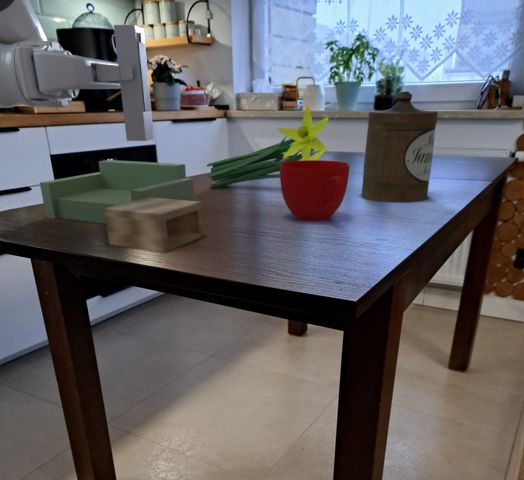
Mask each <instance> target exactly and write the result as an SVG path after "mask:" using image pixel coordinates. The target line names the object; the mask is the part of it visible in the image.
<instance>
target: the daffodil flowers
mask: <svg viewBox="0 0 524 480" xmlns="http://www.w3.org/2000/svg"><path fill="white" fill-rule="evenodd" d="M329 118H330V117H329V116H327V117H325V118H323V119H321V120H319V121H318V122H317V123H315V124H313V116H312V113H311V108H310V107H309V105H306V108H305V110H304V114H303V118H302V122H301V126H299V127H298V128H297V129H296V128H284V127H280V128H276V130H277V131H278V132H280V133H281V134H282V135H284V136H285V137H284V138H282V139H281V141H279V143H275V144H273V145H270V146H267V147H265V148H262V149H258V150H256V151H253V152H250V153H247V154H242V155H238V156H233V157H229V158H225V159H220V160H216V161H213V162H209V163H207V164H206V167H210V172H209V174H207V176H208V178H211V179H210V180H211V181H213V182H215V183H213V184H211V185H210V189H212V190H216V189H220V188H223V187H226V186H230V185H232V184H233V185H234V184H238V183H243V182H250V181H257V180H267V179H280V173H278V172H280V164H282V163H285V162H291V161H305V160H320V158H321V157H322V156H323V155H324V153H325V152H326V151H328V149H327V147H326V146H325V144H324V143H323V142H322V141H321V140H320V139H319V138H318V137H317V136H318V135H319V134H320V133H321V132H322V131H323V130H324V129H325V127H326V126H327V123H328V121H329ZM287 138H289V139H287ZM286 139H287V140H286ZM314 151H316V152H315V153H313V152H314ZM310 155H311V156H310ZM283 159H285V160H283Z"/></svg>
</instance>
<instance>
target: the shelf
mask: <svg viewBox="0 0 524 480" xmlns="http://www.w3.org/2000/svg"><path fill="white" fill-rule="evenodd" d="M104 211H105V218H106V230H107V239H108V244H109V246H117V247H124V248H131V249H136V250H145V251H152V252H158V253H166V252H169V251H172V250H174V249H176V248H179V247H181V246H184V245H186V244H188V243H191V242H194V241H196V240H198V239H201V238H203V237H204V220H203V205H202V201H198V200H197V201H196V200H195V201H187V200H176V199H165V198H154V197H147V198H143V199H139V200H135V201H131V202H127V203H123V204H119V205H115V206H111V207H108V208H104Z"/></svg>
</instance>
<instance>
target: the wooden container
mask: <svg viewBox="0 0 524 480" xmlns="http://www.w3.org/2000/svg"><path fill="white" fill-rule="evenodd" d="M412 99H413V94H412V93H411V92H410V91H400V92H399V93H397V94H396V96H395V100H396V101H397V102H396V103H395V104H394V105H393V106H392V107H390V108H389V109H384V110H371V111H369V112H368V117H367V122H368V123H367V130H366V131H367V132H366V142H365V151H364V160H363V171H362V183H361V197H362V198H363V199H365V200H370V201H375V202H381V203H382V202H383V203H416V202H422V201H425V200H427V199H428V193H429V185H430V178H431V173H432V172H431V171H432V164H433V156H434V146H435V137H436V129H437V122H438V111H436V110H422V109H418V108H416V106H414V105H413V104H412V102H411V101H412Z"/></svg>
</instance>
